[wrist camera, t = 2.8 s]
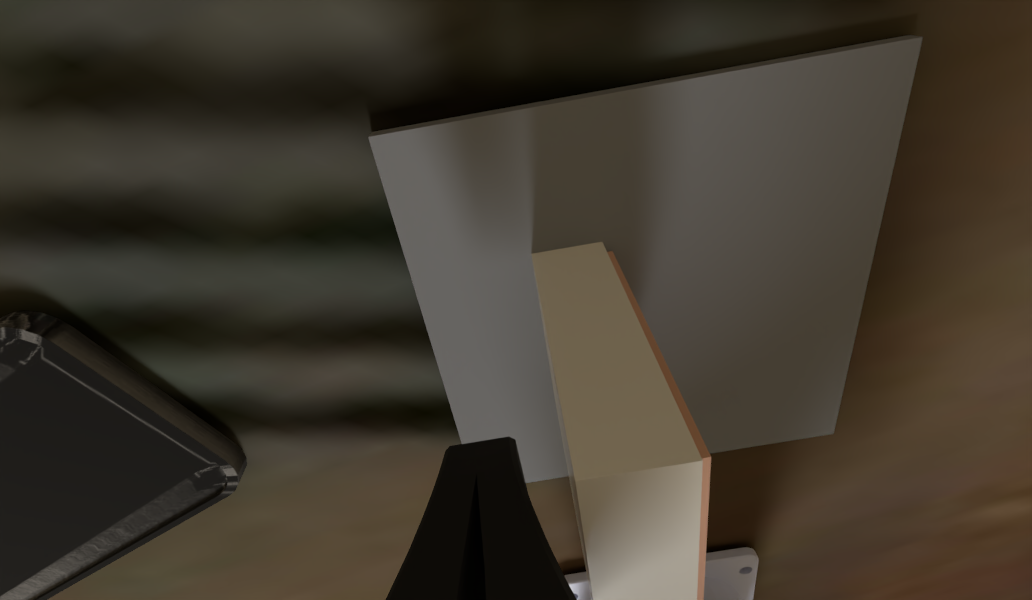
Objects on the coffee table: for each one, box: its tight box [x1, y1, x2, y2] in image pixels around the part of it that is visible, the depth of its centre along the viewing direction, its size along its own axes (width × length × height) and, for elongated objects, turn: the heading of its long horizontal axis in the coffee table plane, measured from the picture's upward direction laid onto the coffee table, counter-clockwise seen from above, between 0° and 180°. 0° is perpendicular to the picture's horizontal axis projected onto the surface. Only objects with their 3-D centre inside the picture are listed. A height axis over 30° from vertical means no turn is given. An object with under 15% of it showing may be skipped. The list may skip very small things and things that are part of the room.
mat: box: [368, 35, 923, 483], centre depth 15 cm, size 12×12×1 cm
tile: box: [531, 242, 711, 600], centre depth 12 cm, size 5×2×7 cm, turn 9°
